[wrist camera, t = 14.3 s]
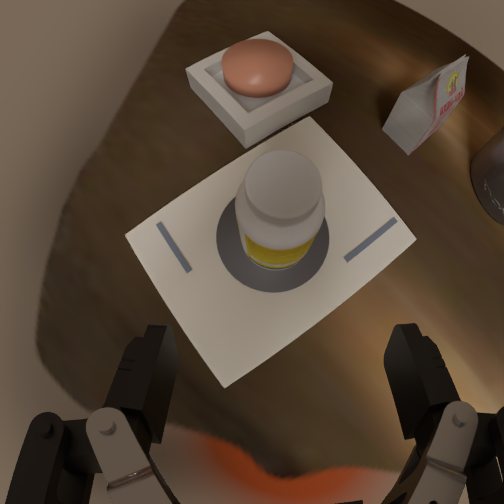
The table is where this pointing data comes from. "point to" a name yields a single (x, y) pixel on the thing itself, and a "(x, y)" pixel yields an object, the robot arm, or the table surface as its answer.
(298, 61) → the white square tray
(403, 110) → the white carton
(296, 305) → the white flat board
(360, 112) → the table surface
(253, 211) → the supplement bottle
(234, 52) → the button
